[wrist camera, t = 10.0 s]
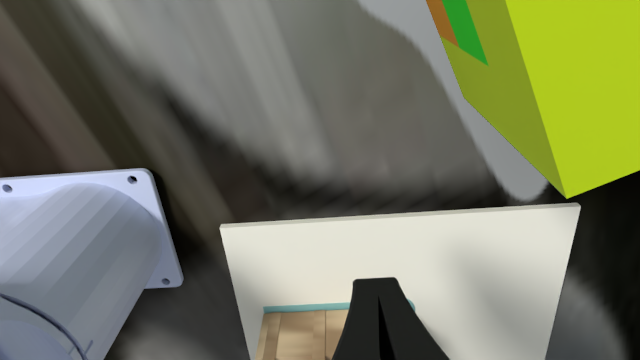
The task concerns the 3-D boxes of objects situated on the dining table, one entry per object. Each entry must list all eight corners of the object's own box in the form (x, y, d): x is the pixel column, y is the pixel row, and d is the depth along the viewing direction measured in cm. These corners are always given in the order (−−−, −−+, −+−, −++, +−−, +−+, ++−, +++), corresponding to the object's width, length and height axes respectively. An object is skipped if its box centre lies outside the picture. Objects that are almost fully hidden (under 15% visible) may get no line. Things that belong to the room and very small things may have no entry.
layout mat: (266, 417, 32) (265, 423, 32) (221, 224, 24) (219, 228, 24) (529, 409, 31) (532, 414, 31) (577, 202, 23) (581, 206, 22)
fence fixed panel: (266, 324, 27) (253, 398, 22) (263, 308, 26) (249, 381, 22) (406, 318, 27) (423, 392, 22) (407, 301, 26) (424, 374, 21)
